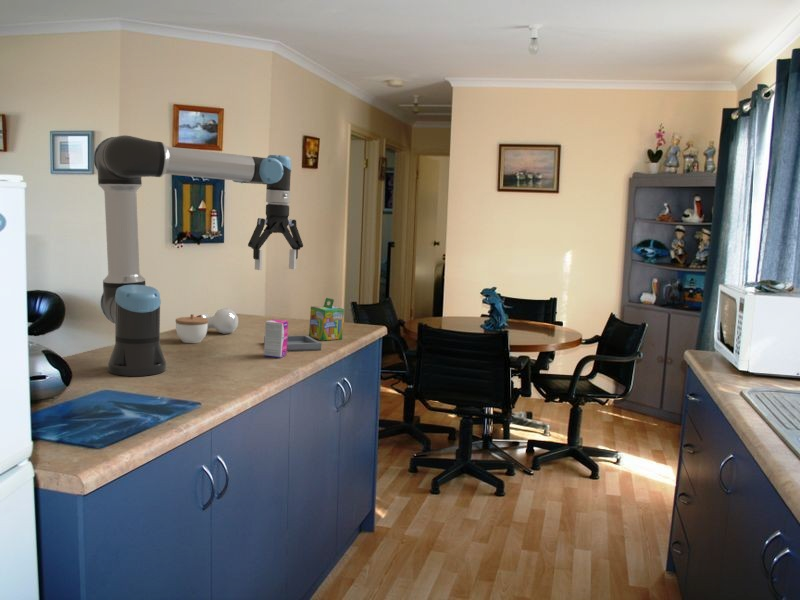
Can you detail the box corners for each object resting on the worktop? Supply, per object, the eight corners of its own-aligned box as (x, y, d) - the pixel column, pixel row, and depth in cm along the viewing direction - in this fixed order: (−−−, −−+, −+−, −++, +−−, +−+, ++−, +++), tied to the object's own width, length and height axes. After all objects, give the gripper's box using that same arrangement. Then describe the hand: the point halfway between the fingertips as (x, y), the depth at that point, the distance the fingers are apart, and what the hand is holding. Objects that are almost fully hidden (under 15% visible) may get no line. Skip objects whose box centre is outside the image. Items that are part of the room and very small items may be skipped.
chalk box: (308, 337, 270) (309, 297, 268) (328, 335, 276) (330, 296, 274) (323, 341, 263) (324, 300, 261) (343, 339, 269) (345, 299, 267)
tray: (276, 351, 240) (277, 344, 240) (264, 343, 254) (264, 336, 253) (321, 350, 247) (321, 343, 247) (306, 341, 261) (306, 335, 260)
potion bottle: (238, 338, 267) (199, 340, 269) (244, 320, 274) (206, 322, 276) (231, 320, 261) (191, 322, 263) (237, 302, 268) (198, 304, 270)
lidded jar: (169, 342, 246) (169, 315, 245) (185, 337, 256) (186, 311, 255) (197, 345, 244) (198, 317, 242) (213, 340, 254) (214, 313, 253)
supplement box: (281, 358, 230) (282, 322, 229) (263, 357, 231) (264, 321, 230) (287, 355, 236) (288, 320, 234) (270, 353, 237) (271, 318, 235)
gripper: (251, 202, 225) (249, 271, 227) (315, 206, 242) (312, 269, 245) (238, 201, 230) (236, 269, 232) (301, 205, 248) (298, 267, 250)
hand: (275, 269), depth 239 cm, fingers open, 13 cm apart
